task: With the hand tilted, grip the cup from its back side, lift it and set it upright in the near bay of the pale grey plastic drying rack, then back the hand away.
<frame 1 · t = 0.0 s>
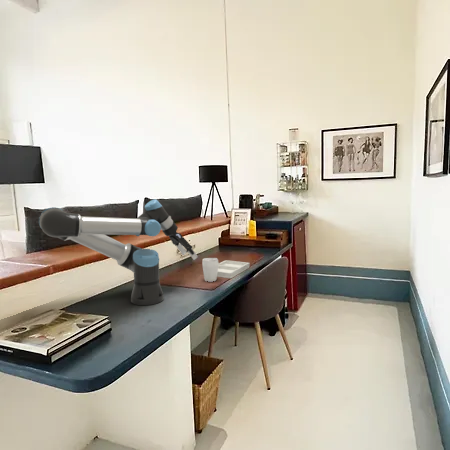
hand: (190, 255, 192), 15 cm above the countertop, tool tilted 35°, fingers open, 13 cm apart
rack: (228, 271, 219), on the countertop
cup: (210, 280, 200), on the countertop
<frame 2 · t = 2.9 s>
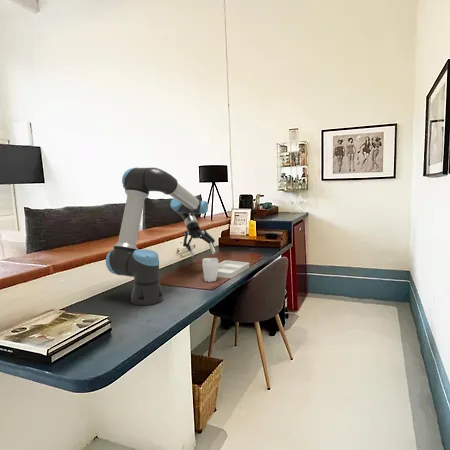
hand: (203, 253, 206), 13 cm above the countertop, tool tilted 45°, fingers open, 13 cm apart
nothing on the countertop moved.
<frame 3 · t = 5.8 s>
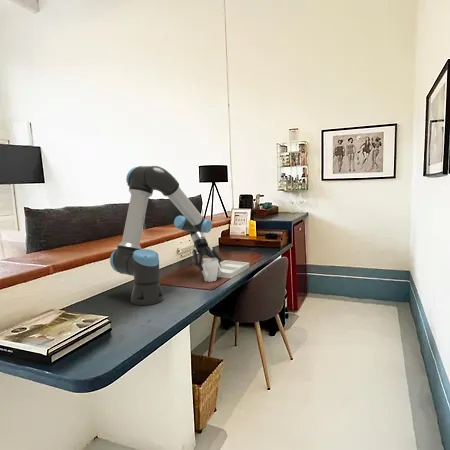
hand: (213, 274, 196), 4 cm above the countertop, tool tilted 45°, fingers closed on cup, 9 cm apart
cup: (210, 280, 200), on the countertop, touching gripper
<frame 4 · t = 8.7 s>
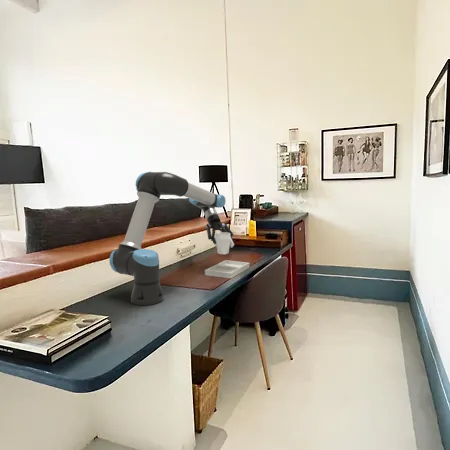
hand: (225, 247, 208), 17 cm above the countertop, tool tilted 45°, fingers closed on cup, 9 cm apart
cup: (223, 253, 211), point 12 cm above the countertop, touching gripper
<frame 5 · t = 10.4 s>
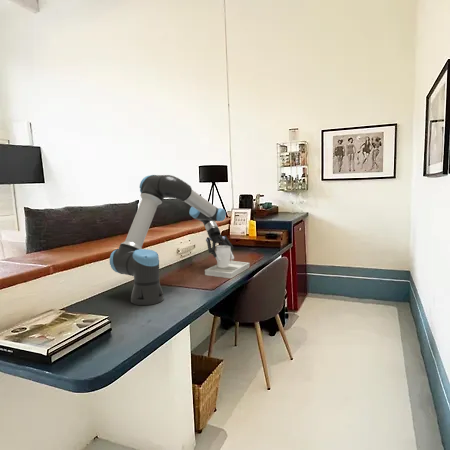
hand: (226, 260, 209), 9 cm above the countertop, tool tilted 45°, fingers closed on cup, 9 cm apart
cup: (223, 266, 213), point 4 cm above the countertop, touching gripper
when the fingers open (7 cm above the countertop, at t = 11.5 s): cup drops 1 cm, resting on rack.
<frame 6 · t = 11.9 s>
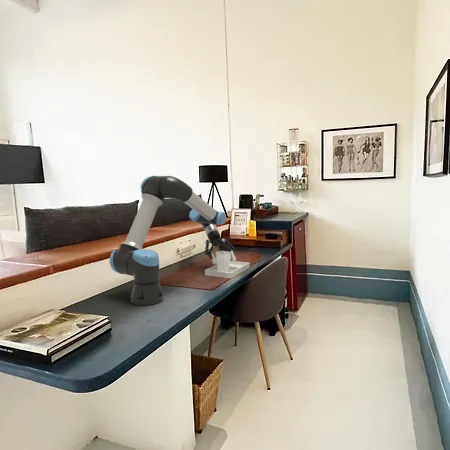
hand: (225, 262, 210), 8 cm above the countertop, tool tilted 45°, fingers open, 13 cm apart
cup: (223, 272, 213), point 1 cm above the countertop, touching rack
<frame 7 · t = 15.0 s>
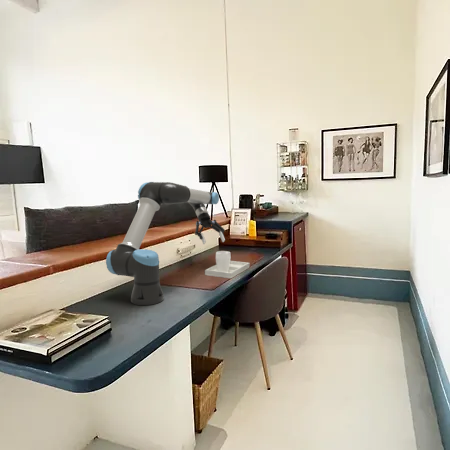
hand: (214, 242, 220), 18 cm above the countertop, tool tilted 45°, fingers open, 13 cm apart
nothing on the countertop moved.
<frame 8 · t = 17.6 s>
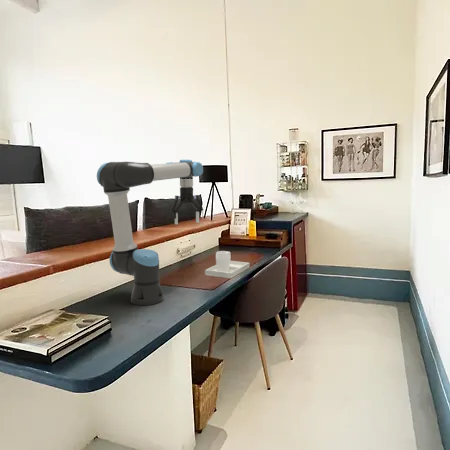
hand: (187, 223, 207), 31 cm above the countertop, tool pointing down, fingers open, 13 cm apart
nothing on the countertop moved.
at the end: cup inside the target area (0.1 cm from its centre), point 0.8 cm above the countertop; cup tilted 0°; the gripper is holding nothing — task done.
